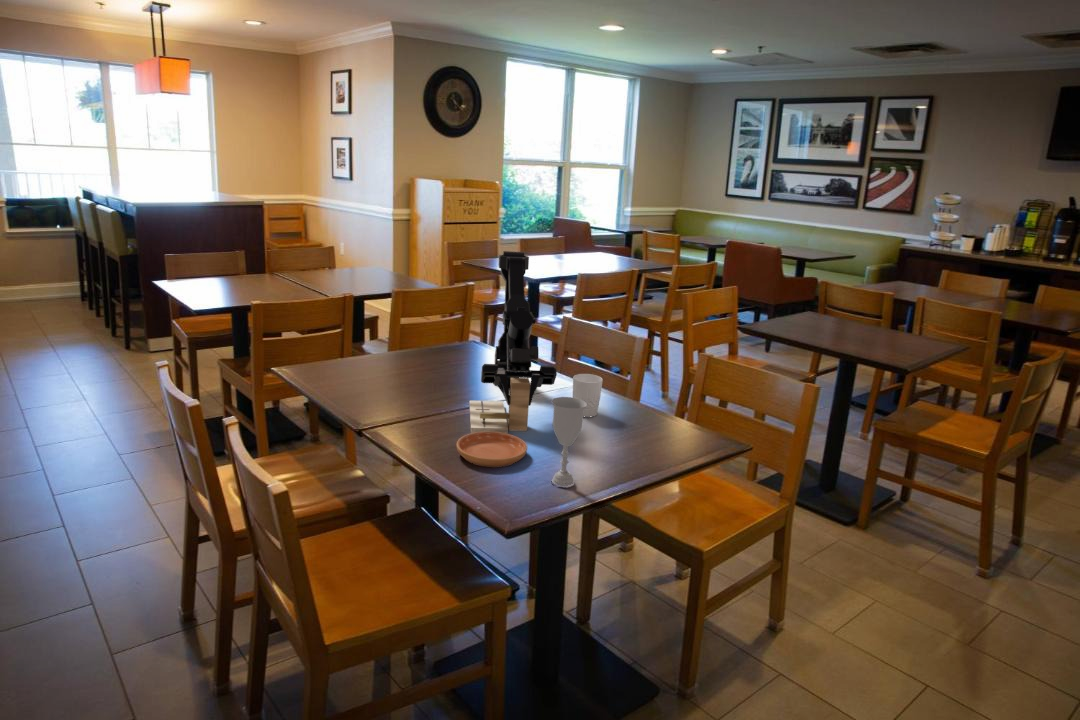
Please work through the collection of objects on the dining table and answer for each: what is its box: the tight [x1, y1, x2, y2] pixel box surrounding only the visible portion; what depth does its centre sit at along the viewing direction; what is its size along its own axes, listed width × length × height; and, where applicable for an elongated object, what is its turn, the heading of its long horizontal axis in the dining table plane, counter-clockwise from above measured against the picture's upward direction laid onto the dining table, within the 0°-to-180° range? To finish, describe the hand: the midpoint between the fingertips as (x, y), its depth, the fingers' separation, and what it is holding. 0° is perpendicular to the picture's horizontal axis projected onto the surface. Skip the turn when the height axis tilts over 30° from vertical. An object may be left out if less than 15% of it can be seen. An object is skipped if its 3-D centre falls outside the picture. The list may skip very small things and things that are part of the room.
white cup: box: [572, 373, 604, 418], centre depth 193 cm, size 8×8×10 cm
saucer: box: [456, 432, 528, 468], centre depth 163 cm, size 16×16×3 cm
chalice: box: [551, 396, 587, 486], centre depth 149 cm, size 7×7×18 cm
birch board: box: [468, 400, 509, 434], centre depth 185 cm, size 20×9×2 cm, turn 7°
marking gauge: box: [480, 378, 531, 432], centre depth 178 cm, size 4×12×12 cm, turn 97°
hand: (519, 404), depth 177 cm, fingers open, 5 cm apart
